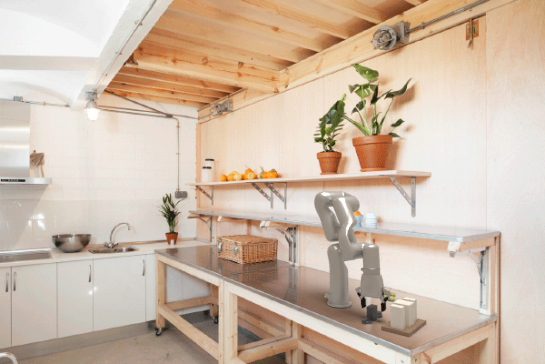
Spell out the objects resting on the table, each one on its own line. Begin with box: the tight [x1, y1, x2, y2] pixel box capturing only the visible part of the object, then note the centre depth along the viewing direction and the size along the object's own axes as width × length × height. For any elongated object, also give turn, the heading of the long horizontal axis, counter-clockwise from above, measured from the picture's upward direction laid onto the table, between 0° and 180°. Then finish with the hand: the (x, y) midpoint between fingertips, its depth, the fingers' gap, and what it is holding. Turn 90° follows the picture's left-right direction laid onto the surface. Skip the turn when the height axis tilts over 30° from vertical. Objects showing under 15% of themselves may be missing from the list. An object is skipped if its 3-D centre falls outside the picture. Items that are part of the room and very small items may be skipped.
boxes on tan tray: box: [380, 297, 427, 338], centre depth 159 cm, size 12×19×10 cm, turn 138°
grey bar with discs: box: [361, 303, 383, 325], centre depth 169 cm, size 5×16×6 cm, turn 138°
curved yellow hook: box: [384, 286, 396, 302], centre depth 208 cm, size 8×3×25 cm
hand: (373, 309), depth 169 cm, fingers open, 9 cm apart
